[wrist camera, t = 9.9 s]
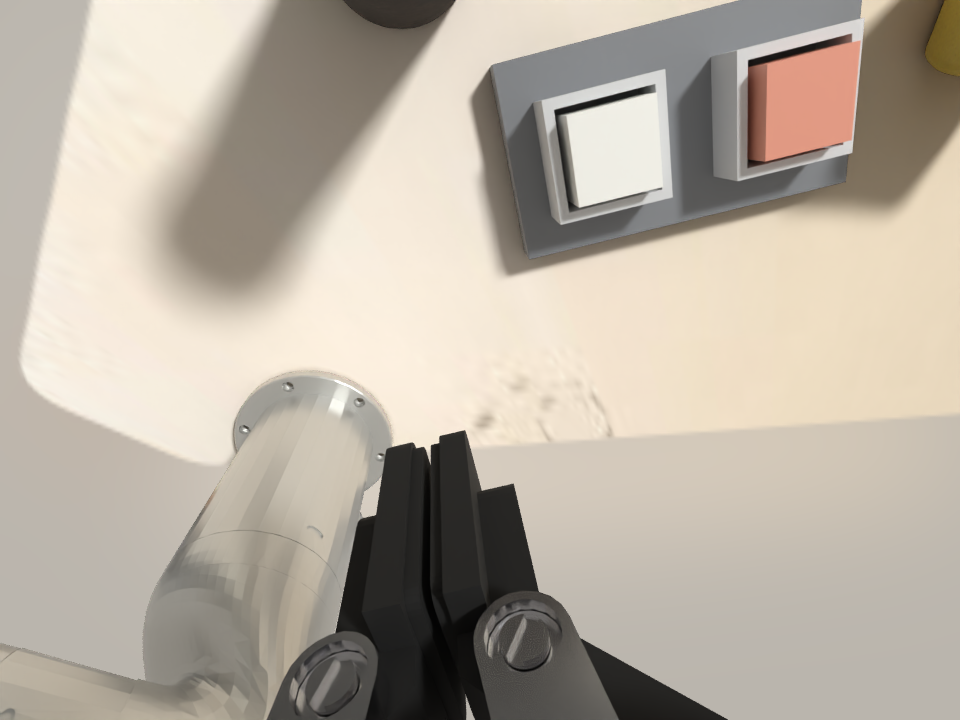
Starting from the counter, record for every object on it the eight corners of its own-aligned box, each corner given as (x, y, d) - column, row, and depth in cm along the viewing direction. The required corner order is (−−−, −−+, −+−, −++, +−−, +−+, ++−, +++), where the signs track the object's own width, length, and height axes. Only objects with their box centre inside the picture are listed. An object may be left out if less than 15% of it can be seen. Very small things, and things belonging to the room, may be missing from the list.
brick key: (816, 138, 32) (851, 140, 29) (737, 158, 32) (765, 161, 29) (822, 47, 29) (860, 40, 27) (737, 69, 30) (767, 64, 27)
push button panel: (825, 178, 36) (880, 187, 31) (525, 252, 37) (536, 271, 32) (839, -24, 31) (908, -49, 26) (489, 67, 32) (497, 58, 27)
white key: (644, 181, 32) (663, 186, 29) (567, 200, 32) (579, 207, 30) (637, 94, 30) (656, 92, 27) (555, 115, 30) (566, 115, 27)
